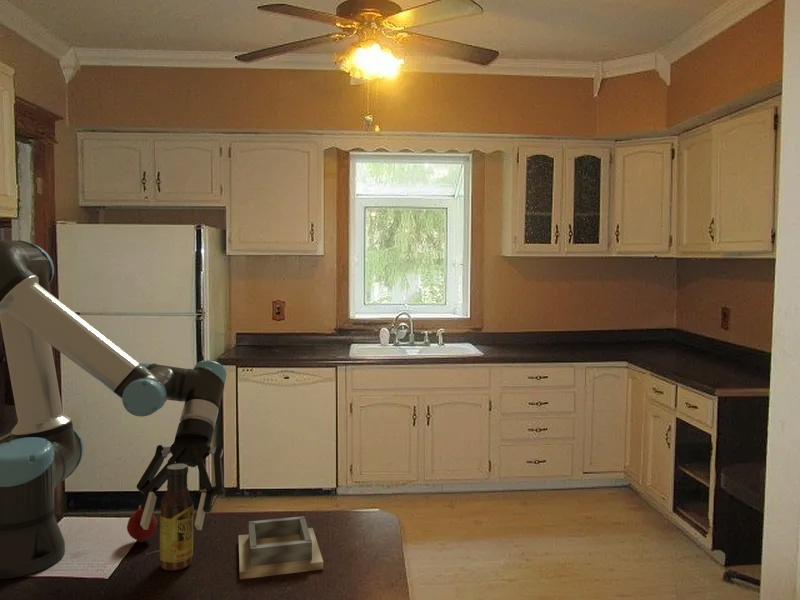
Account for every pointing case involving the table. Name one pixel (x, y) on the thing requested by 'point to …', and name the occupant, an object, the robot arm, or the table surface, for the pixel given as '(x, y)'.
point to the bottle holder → (278, 548)
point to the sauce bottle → (176, 520)
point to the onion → (136, 529)
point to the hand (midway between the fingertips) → (171, 527)
